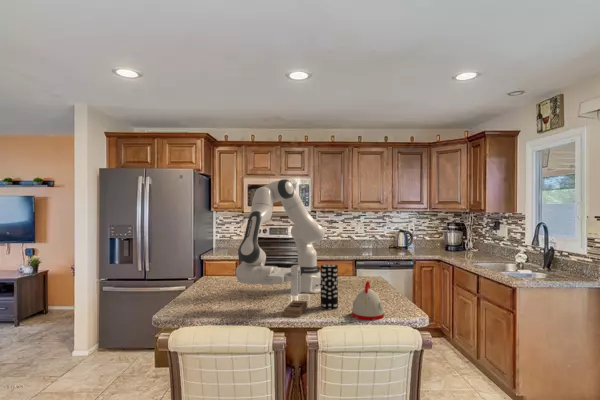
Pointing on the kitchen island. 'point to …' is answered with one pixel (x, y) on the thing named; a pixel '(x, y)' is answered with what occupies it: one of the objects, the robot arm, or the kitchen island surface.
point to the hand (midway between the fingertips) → (297, 276)
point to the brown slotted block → (295, 308)
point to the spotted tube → (329, 286)
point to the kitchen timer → (367, 305)
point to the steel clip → (295, 284)
